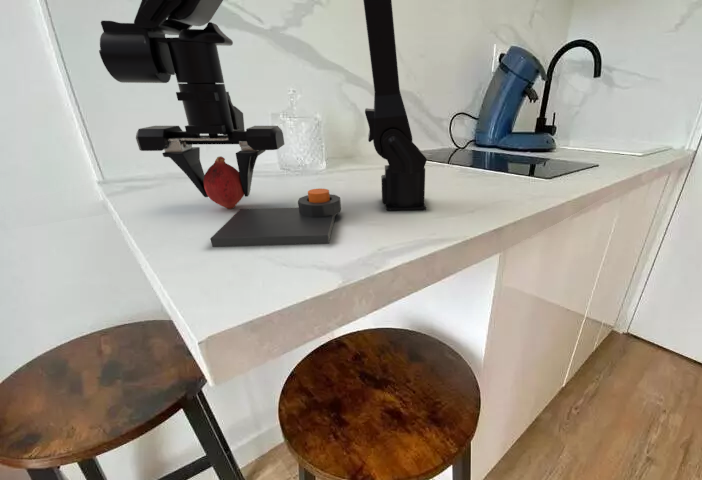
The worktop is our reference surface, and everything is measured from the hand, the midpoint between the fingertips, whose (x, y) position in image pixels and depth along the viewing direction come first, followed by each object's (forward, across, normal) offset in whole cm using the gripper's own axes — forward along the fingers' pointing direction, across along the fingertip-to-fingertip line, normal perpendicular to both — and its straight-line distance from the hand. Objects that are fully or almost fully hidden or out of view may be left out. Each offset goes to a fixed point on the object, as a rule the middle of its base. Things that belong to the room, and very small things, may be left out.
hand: (227, 196), depth 57 cm
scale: (+2, -10, +10) cm, 14 cm away
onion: (+2, 0, 0) cm, 2 cm away
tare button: (-1, -15, +6) cm, 16 cm away
